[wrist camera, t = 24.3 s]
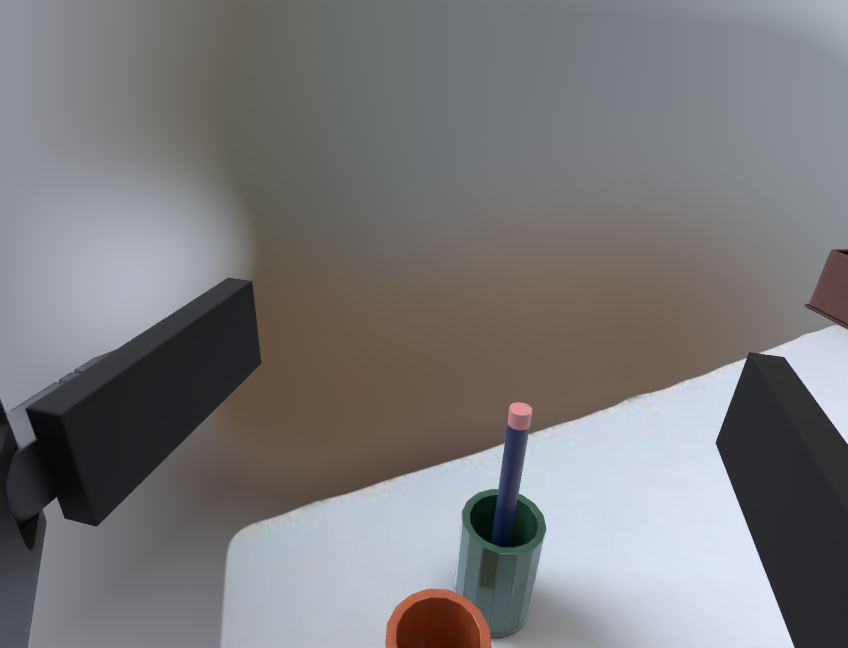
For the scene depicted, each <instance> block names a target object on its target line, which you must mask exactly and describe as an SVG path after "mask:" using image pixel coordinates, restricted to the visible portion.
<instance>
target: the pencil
mask: <svg viewBox="0 0 848 648" xmlns="http://www.w3.org/2000/svg"><path fill="white" fill-rule="evenodd" d="M531 416H532V408H531V407H530V406H529V405H527V404H524V403H520V402H517V403H513V404H512V405H511V406H510V409H509V416H508V425H507V432H506V440H505V447H504V454H503V461H502V468H501V475H500V482H499V490H498V497H497V504H496V511H495V518H494V525H493V532H492V540H491V544H494V545H497V546H499V547H510V543H511V537H512V531H513V525H514V518H515V512H516V506H517V500H518V494H519V488H520V482H521V476H522V469H523V463H524V457H525V451H526V445H527V439H528V433H529V427H530V422H531Z"/></svg>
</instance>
